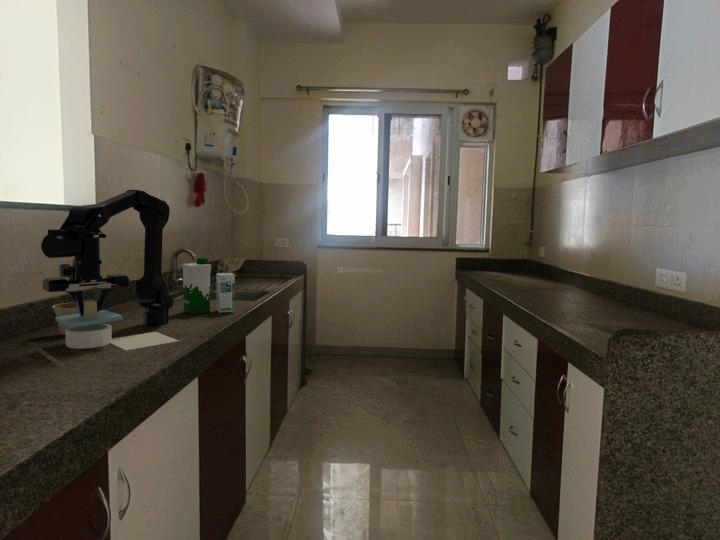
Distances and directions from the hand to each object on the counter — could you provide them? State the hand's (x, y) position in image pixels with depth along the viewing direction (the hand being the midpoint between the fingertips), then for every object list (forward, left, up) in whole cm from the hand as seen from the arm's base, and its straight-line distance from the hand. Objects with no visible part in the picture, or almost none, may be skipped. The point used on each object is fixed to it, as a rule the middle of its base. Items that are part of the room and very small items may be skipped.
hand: (89, 315), depth 117 cm
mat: (-11, +6, -8) cm, 15 cm away
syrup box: (-53, -19, -9) cm, 57 cm away
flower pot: (-1, -16, -9) cm, 18 cm away
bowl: (0, 0, -8) cm, 8 cm away
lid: (0, 0, -1) cm, 1 cm away
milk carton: (-44, -24, -9) cm, 51 cm away
